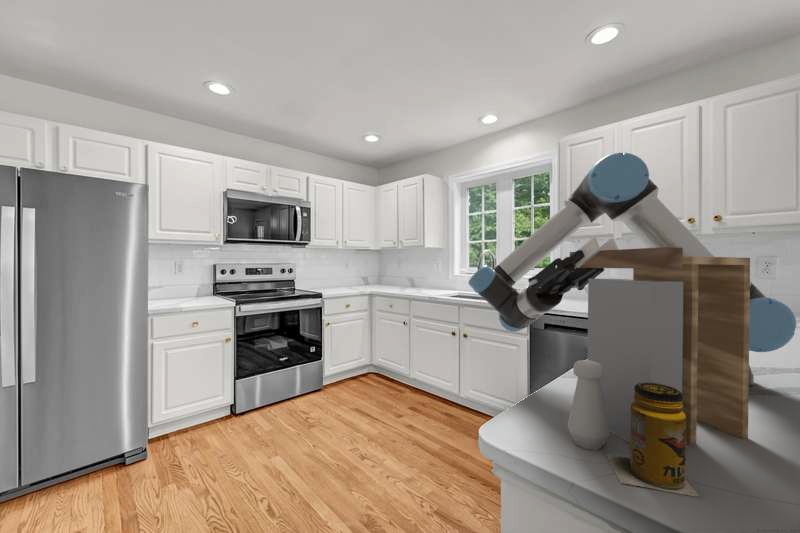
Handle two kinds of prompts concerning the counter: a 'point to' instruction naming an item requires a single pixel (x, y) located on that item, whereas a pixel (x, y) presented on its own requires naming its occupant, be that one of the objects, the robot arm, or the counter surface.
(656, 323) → the stone block
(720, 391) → the oak shelf
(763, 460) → the counter surface
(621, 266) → the walnut rail
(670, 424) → the condiment
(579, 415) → the salt shaker
